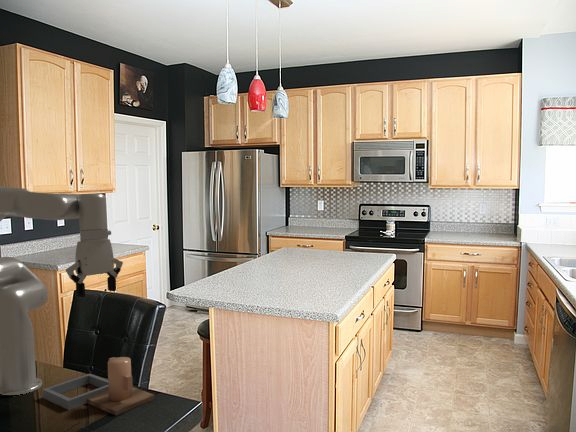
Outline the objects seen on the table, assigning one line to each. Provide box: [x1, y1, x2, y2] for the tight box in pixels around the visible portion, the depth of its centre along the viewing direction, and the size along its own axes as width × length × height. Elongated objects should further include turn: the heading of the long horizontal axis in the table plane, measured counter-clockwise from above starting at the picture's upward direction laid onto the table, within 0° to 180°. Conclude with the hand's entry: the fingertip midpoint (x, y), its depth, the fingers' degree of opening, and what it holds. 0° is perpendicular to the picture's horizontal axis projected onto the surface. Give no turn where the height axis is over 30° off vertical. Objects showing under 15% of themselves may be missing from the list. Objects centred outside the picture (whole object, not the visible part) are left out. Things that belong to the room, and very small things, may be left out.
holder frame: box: [42, 373, 109, 411], centre depth 135 cm, size 14×14×2 cm
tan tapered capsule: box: [107, 356, 134, 401], centre depth 130 cm, size 6×9×10 cm, turn 51°
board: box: [86, 386, 156, 416], centre depth 130 cm, size 14×12×1 cm
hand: (97, 293), depth 139 cm, fingers open, 9 cm apart
